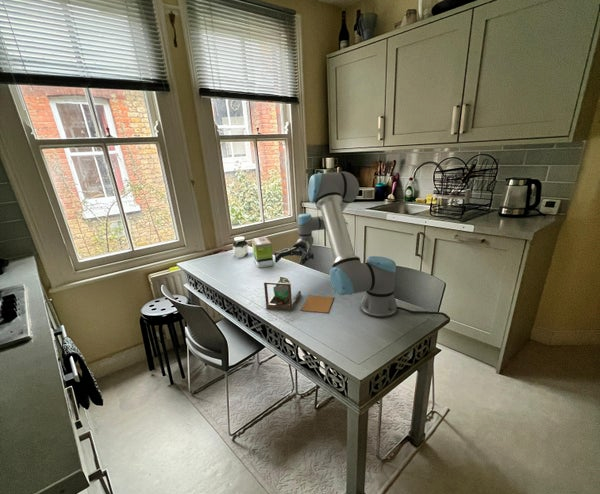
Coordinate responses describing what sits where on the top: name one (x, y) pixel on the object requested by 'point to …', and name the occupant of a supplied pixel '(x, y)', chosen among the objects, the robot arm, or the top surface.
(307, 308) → the cork mat
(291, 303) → the rack
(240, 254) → the spread jar
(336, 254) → the robot arm
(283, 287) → the food container
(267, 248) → the tea box
